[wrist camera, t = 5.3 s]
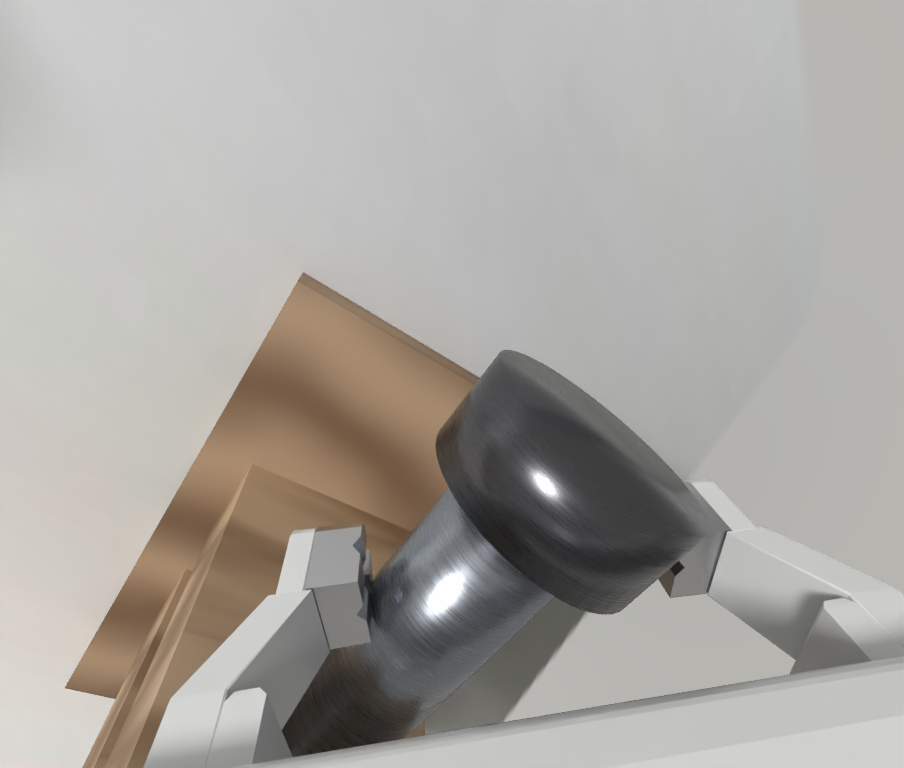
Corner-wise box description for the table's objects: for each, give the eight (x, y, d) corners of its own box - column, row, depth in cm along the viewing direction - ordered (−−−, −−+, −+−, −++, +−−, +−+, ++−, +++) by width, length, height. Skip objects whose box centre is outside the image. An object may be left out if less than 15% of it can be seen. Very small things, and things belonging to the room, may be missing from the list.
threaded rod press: (283, 712, 30) (201, 1163, 17) (77, 665, 26) (-246, 1218, 13) (541, 414, 22) (776, 839, 9) (303, 272, 18) (49, 680, 4)
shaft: (210, 859, 20) (162, 1054, 16) (87, 846, 18) (-4, 1061, 14) (629, 419, 12) (763, 576, 8) (478, 321, 10) (544, 452, 6)
